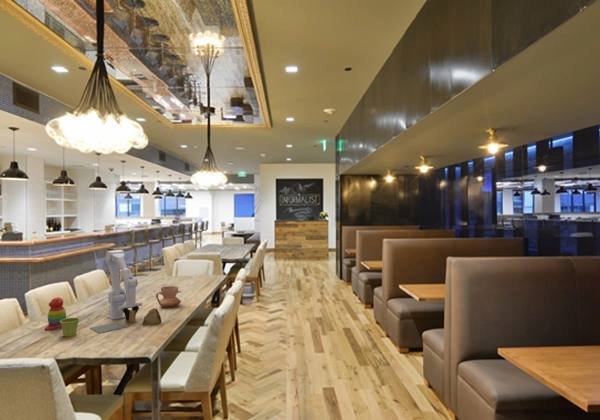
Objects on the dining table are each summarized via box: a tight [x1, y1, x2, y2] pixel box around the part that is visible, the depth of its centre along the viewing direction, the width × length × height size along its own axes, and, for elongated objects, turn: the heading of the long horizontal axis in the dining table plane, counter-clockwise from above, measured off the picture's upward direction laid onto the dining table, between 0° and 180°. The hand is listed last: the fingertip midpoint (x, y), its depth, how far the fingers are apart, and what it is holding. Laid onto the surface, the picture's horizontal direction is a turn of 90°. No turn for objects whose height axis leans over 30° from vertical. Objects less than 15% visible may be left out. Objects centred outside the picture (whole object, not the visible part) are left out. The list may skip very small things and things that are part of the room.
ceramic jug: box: [155, 285, 182, 309], centre depth 272 cm, size 18×14×14 cm
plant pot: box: [60, 317, 81, 338], centre depth 208 cm, size 9×9×9 cm
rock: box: [142, 307, 162, 326], centre depth 231 cm, size 11×9×10 cm
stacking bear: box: [44, 296, 67, 332], centre depth 223 cm, size 11×10×18 cm
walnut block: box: [125, 309, 137, 324], centre depth 234 cm, size 6×4×7 cm, turn 50°
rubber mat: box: [89, 321, 129, 334], centre depth 222 cm, size 14×16×1 cm
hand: (130, 319), depth 234 cm, fingers closed on walnut block, 3 cm apart
